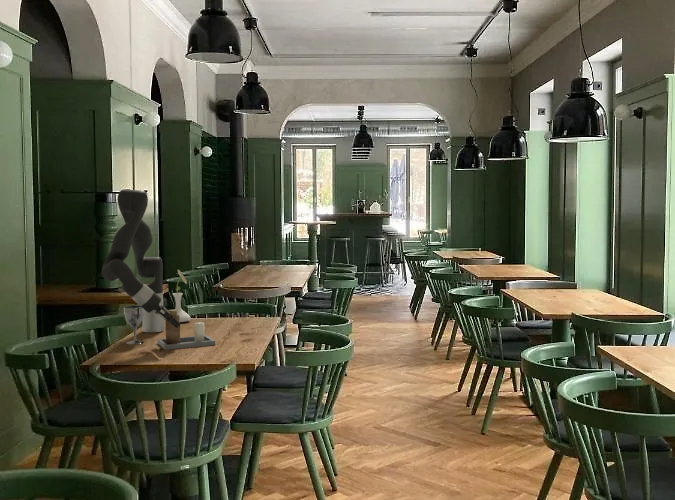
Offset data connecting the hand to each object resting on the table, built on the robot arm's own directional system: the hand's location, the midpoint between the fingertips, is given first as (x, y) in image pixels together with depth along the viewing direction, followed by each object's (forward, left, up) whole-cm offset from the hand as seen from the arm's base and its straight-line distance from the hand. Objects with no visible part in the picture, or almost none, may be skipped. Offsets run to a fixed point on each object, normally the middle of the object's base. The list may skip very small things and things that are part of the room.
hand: (176, 324), depth 295 cm
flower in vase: (-62, +15, -9) cm, 64 cm away
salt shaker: (0, +9, -8) cm, 12 cm away
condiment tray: (0, +4, -9) cm, 10 cm away
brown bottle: (0, -1, -8) cm, 8 cm away
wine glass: (-18, -13, -9) cm, 24 cm away
